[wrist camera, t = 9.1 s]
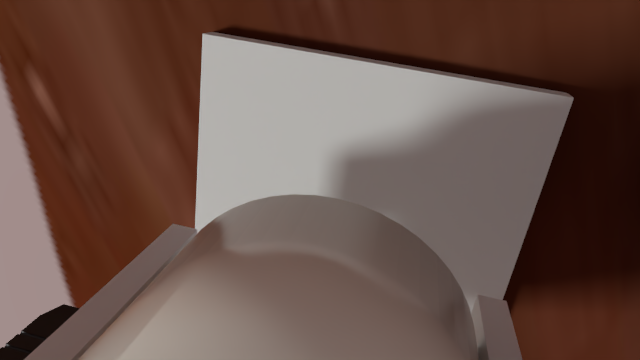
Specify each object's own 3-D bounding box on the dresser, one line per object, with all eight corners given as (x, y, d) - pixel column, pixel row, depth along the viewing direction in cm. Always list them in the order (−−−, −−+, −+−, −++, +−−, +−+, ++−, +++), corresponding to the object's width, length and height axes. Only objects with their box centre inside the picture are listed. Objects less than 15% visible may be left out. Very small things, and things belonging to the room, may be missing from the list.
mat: (212, 31, 17) (202, 33, 16) (566, 92, 15) (573, 97, 14) (199, 306, 21) (191, 317, 21) (469, 375, 20) (470, 390, 19)
